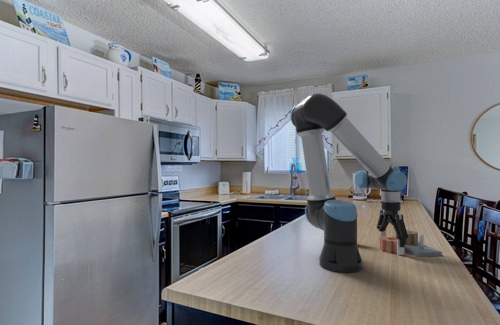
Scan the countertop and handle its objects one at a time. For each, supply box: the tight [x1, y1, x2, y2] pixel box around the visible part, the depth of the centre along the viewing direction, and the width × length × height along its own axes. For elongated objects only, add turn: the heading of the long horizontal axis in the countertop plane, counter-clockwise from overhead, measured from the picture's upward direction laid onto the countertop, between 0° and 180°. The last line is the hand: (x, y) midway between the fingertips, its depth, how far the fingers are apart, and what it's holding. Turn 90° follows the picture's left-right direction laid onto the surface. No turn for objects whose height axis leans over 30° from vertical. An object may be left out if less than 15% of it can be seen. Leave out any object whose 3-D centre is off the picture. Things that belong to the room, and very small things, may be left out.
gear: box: [379, 235, 397, 254], centre depth 129 cm, size 9×9×5 cm
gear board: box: [395, 227, 443, 257], centre depth 130 cm, size 20×11×8 cm, turn 5°
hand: (391, 250), depth 129 cm, fingers open, 13 cm apart
